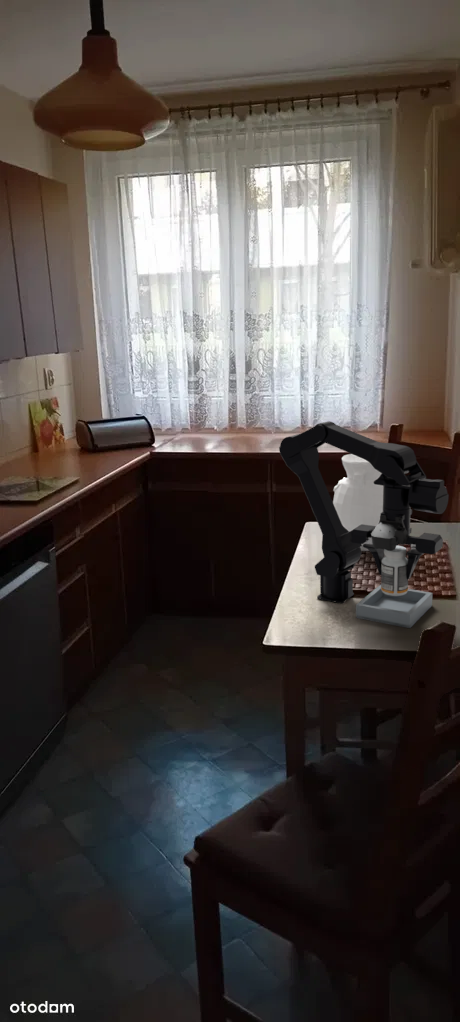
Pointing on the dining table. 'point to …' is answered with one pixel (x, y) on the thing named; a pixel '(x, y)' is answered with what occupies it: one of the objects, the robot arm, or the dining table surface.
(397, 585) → the pill bottle
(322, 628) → the dining table surface
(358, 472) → the pitcher
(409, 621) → the tray
